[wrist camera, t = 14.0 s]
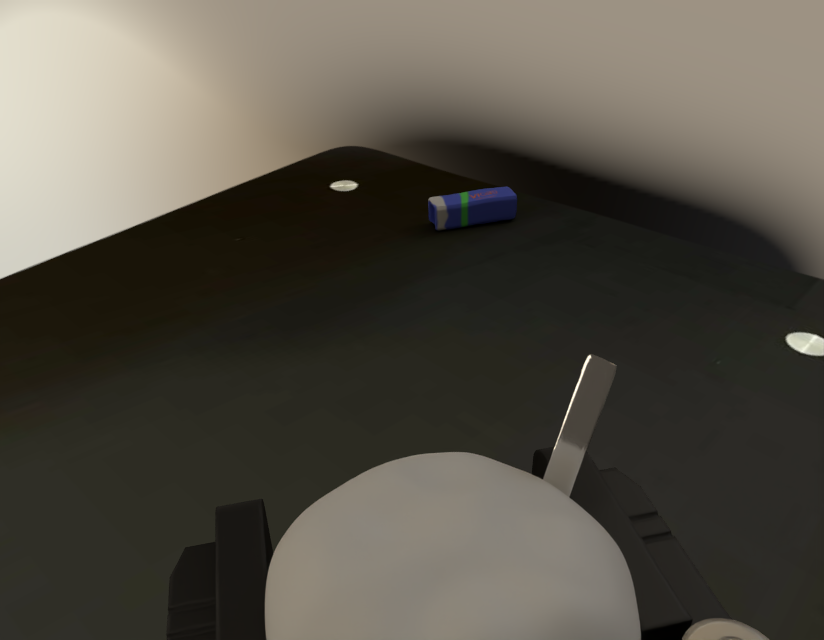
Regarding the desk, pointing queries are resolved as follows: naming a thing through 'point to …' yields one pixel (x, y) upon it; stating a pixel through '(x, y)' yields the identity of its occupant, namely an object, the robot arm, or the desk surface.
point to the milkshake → (458, 550)
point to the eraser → (472, 208)
